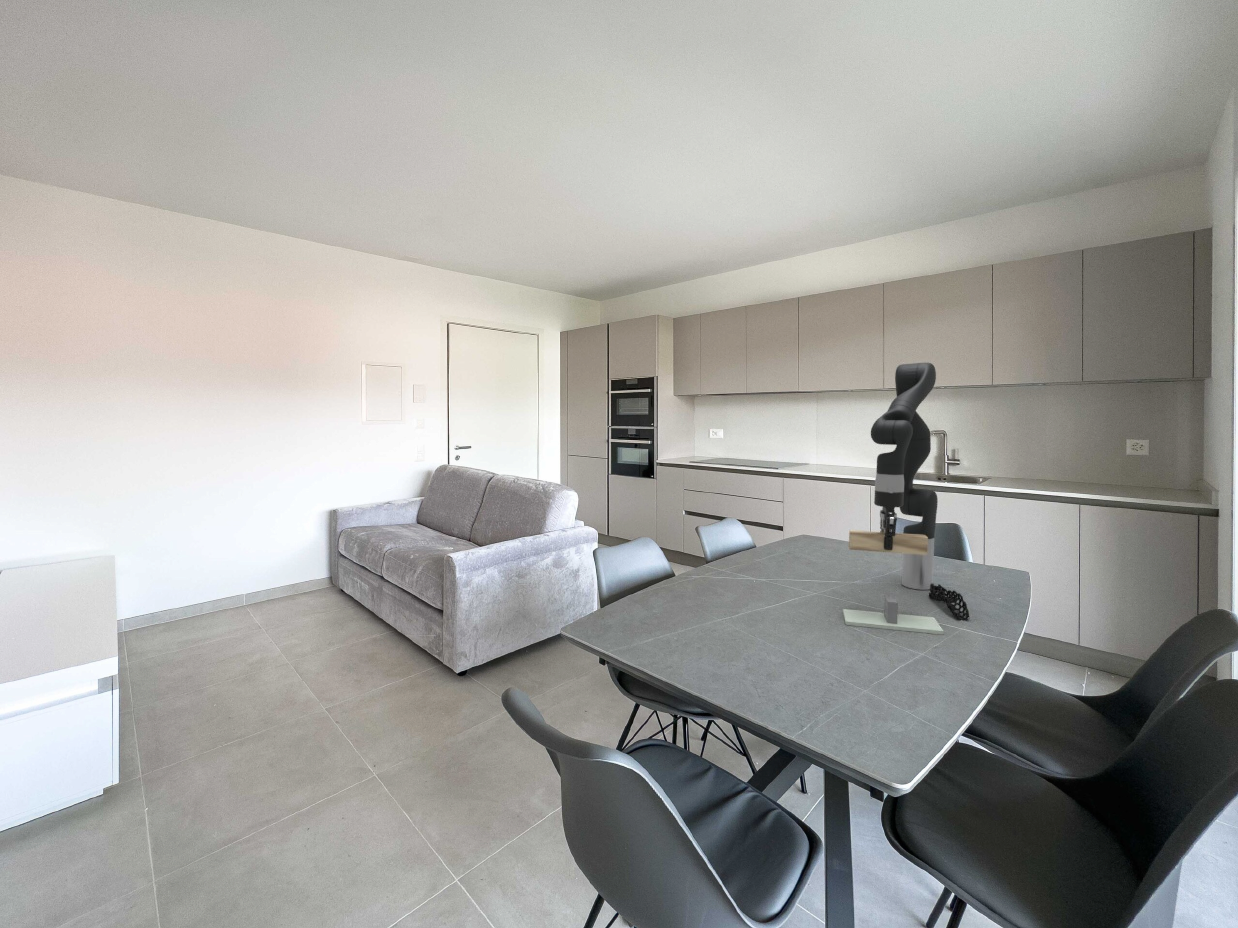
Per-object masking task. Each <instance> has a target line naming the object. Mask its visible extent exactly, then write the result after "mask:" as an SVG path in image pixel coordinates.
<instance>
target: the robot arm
mask: <svg viewBox="0 0 1238 928" xmlns="http://www.w3.org/2000/svg"><path fill="white" fill-rule="evenodd" d="M894 376H895V377H894V379H895V381H894V382H895V383H894V384H895V393H896V397H895V398H894V399H893V400H892V402H891V403H890V404H889V407H888V408H887V411H886V412H885V413H884V414H882V415H881V416H879V417H878V418H877V419H876V420H875V421H874V423H873V424H872V426H871V428H870V437H871V438H870V439H871V440H872V441H873V442H874V443H875V444H878V445H884V446H887V445H889V446H890V445H891V446H894V445H895V448H894V449H893V451H889V452H882V453H880V454H878V455H877V457H876V470H875V471H876V472H875V473H876V474H875V480H874V501H873V503H874V505H875V506H876V507H882V509H880V511H879V517H880V518H879V524H880V527H879V529H880V532H884V549H885V550H892V549H893V537H895V533H896V530H897V529H896V528H897V521H898V514H897V513H896V511H895V509H896V508H899V510H900V512H901V514H902V515H905V516H913V517H920V518H921V521H920V522H919V523H915V524H908V525H905V526H904V527H903V532H902V533H903V534H919V535H926V536H927V537H928V546H927V555H918V554H904V553H902V563H901V566H902V567H901V585H902V586H904V587H905V588H908V589H912V590H913V589H914V590H922V591H923V590H925V591H926V590H927V591H928V590H930V585H931V583H932V584H934V583H933V581H934V559H935V558H934V557H935V556H934V554H935V532H936V525H937V524H936V523H937V513H938V502H939V501H938V495H937V493H936V491H935V490H932V489H923V488H921V489H920V488H914V487H913V485H914V480H915V476H916V474H917V473H918V471H919V470H920V468H921V466H922V465H923V464H924V463H925V462H926V460H927V459H928V457H929V456H930V454H931V450H932V449H931V447H932V446H931V438H932V437H931V430H930V428H929V426H928V425H927V424H926V422H925V421H924V419H923V418H922V416H920V414H919V413H918V412H917V409H918V408H919V406H920V405H921V404H922V402H923V401H924V400H925V399H926V398H927V396H928V395H929V394H930V393H931V392H932V390H933V389H934V386H935V385H936V380H937V372H936V367H935V365H934V364H933V363H931V362H916V363H915V362H914V363H905V364H899V365H898V366H897V367H896V370H895V375H894Z"/></svg>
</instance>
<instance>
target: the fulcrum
mask: <svg viewBox="0 0 1238 928" xmlns="http://www.w3.org/2000/svg"><path fill="white" fill-rule="evenodd" d="M883 602H884V603H883V612H879V611H867V610H858V609H856V610H855V609H846V608H842V613H843V618H844V623H845V625H846V626H853V627H863V628H875V629H884V630H894V631H903V632H912V633H913V632H914V633H921V634H922V633H923V634H933V635H941V636H942V635H944V630H943V628H942V627H941V626H940V623H939V622H938V621H937V620H936V618H935V617H932V616H923V615H913V614H912V615H911V614H900V613H899V611H898V610H899V609H898V608H899V604H898V603H899V602H898V600H897V598H896V597H895V595H892V594H884V598H883Z"/></svg>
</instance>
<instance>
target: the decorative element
mask: <svg viewBox="0 0 1238 928" xmlns="http://www.w3.org/2000/svg"><path fill="white" fill-rule="evenodd" d="M929 591H930V592H928V598H929V599H931V600H934V601H937V602H941V603H945V604H946V607H947V609H948V610H949V612H950V613H951V614H952V616H953V617H954V618H955V619H957V620H958V621H969V618H970V612H969V609H968V606H967V605H968V604H967V602H966V601H965V600H964V597H963V595H962V594H961V593H958V592H957V591H956V590H950V589H946V588H945V587H943V586H942V585H941V584H937V585H935V583H933V584H932V583H931V585H930V589H929ZM957 605H958V608H957V607H956V606H957ZM961 609H962V610H961ZM956 611H958V612H956ZM961 614H962V615H961Z"/></svg>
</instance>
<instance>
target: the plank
mask: <svg viewBox="0 0 1238 928" xmlns="http://www.w3.org/2000/svg"><path fill="white" fill-rule="evenodd" d="M848 536H849V537H848V548H849V550H850V551H863V552H864V551H866V552H879V553H891V554H892V553H894V554H903V553H904V554H918V555H927V546H928V537H927V536H926V535H919V534H903V532H902V533H900V532H895V537H893V549H892V550H885V549H884V532H881V531H866V530H852V529H849V533H848Z"/></svg>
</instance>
